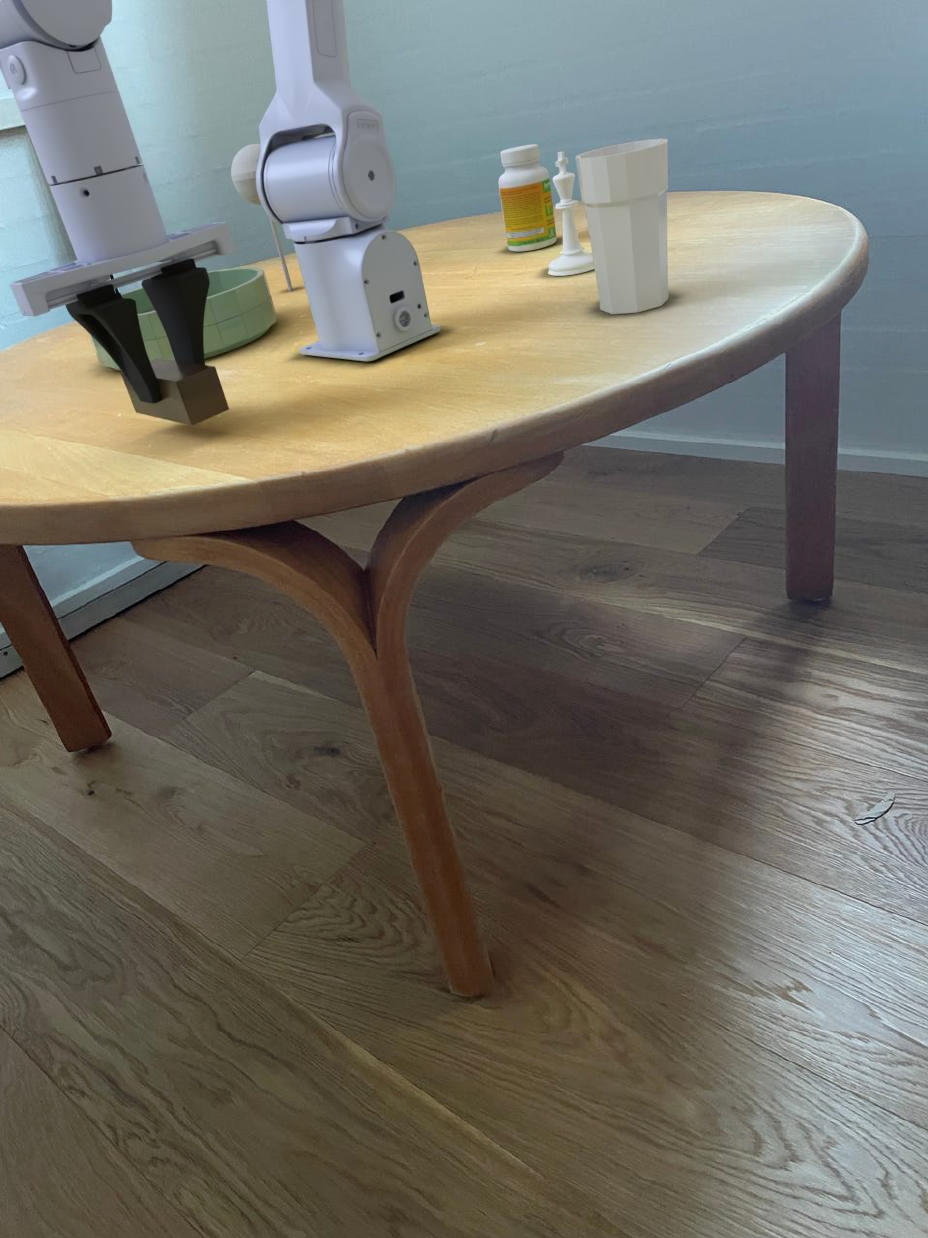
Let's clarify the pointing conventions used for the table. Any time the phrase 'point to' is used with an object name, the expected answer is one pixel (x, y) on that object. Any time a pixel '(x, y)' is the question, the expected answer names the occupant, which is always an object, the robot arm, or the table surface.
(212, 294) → the bowl
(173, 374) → the block
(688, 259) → the table surface
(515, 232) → the supplement bottle
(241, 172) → the lollipop
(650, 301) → the cup
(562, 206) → the chess piece
